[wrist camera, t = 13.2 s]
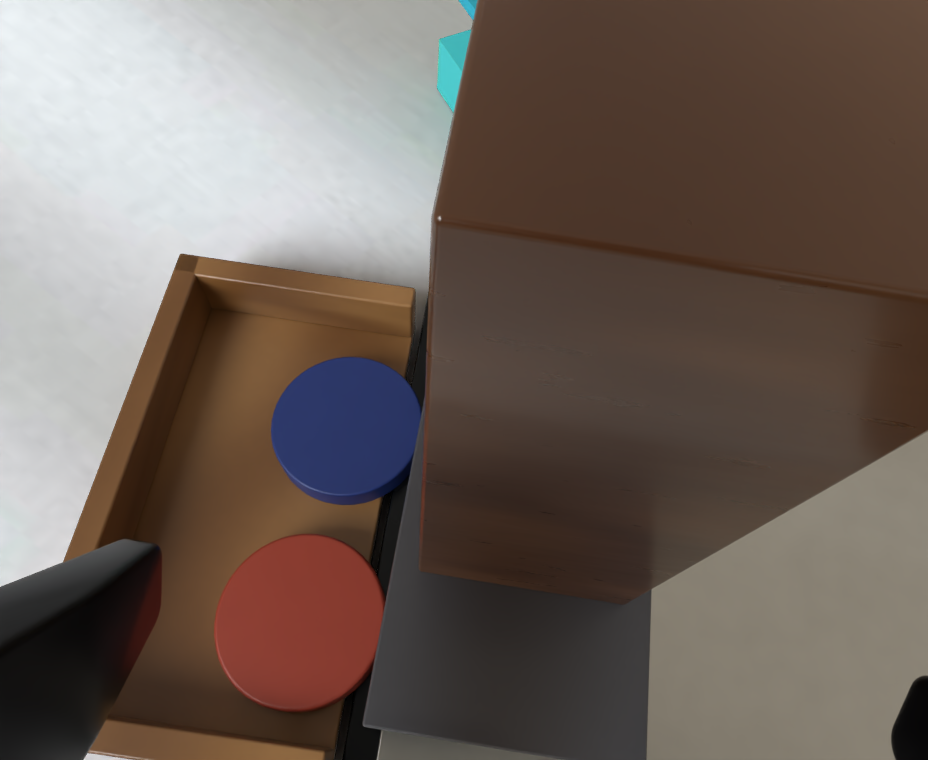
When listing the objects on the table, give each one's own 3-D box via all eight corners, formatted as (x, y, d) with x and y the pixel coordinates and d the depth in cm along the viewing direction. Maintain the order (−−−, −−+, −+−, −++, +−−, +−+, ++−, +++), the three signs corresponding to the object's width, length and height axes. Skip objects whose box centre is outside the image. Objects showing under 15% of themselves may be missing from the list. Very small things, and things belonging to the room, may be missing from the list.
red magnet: (378, 719, 15) (375, 718, 14) (206, 706, 15) (194, 704, 14) (396, 547, 16) (395, 538, 16) (241, 535, 16) (232, 526, 16)
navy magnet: (396, 524, 17) (394, 515, 16) (253, 481, 17) (245, 470, 16) (441, 391, 18) (441, 377, 18) (309, 355, 19) (304, 339, 18)
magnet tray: (415, 327, 20) (416, 287, 18) (330, 780, 15) (318, 787, 13) (200, 295, 20) (179, 251, 18) (44, 737, 15) (-7, 739, 13)
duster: (629, 376, 18) (1001, -219, 7) (610, 766, 15) (1416, 930, 3) (440, 345, 19) (487, -300, 7) (369, 726, 15) (193, 728, 3)
